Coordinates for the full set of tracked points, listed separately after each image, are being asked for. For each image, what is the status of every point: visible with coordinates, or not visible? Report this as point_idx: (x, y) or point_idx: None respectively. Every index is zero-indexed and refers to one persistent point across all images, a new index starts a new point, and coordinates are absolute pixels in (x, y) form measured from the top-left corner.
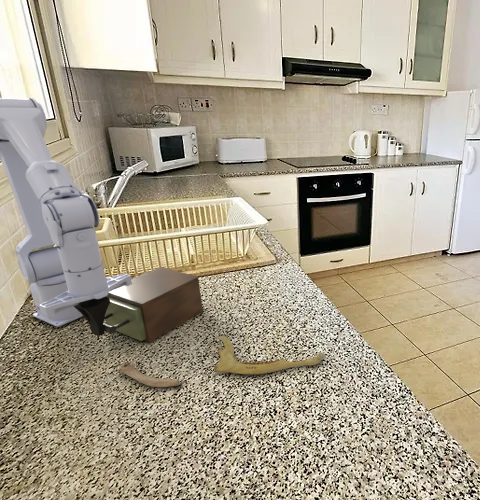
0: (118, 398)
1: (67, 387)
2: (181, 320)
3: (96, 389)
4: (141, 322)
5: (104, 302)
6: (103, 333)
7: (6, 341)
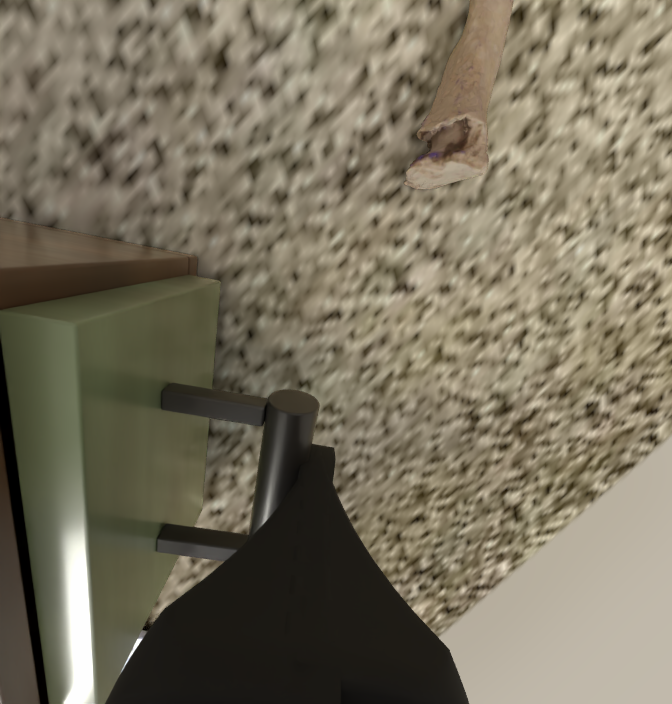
0: (599, 59)
1: (546, 351)
2: None
3: (548, 226)
4: (137, 290)
5: (237, 679)
6: None
7: None
